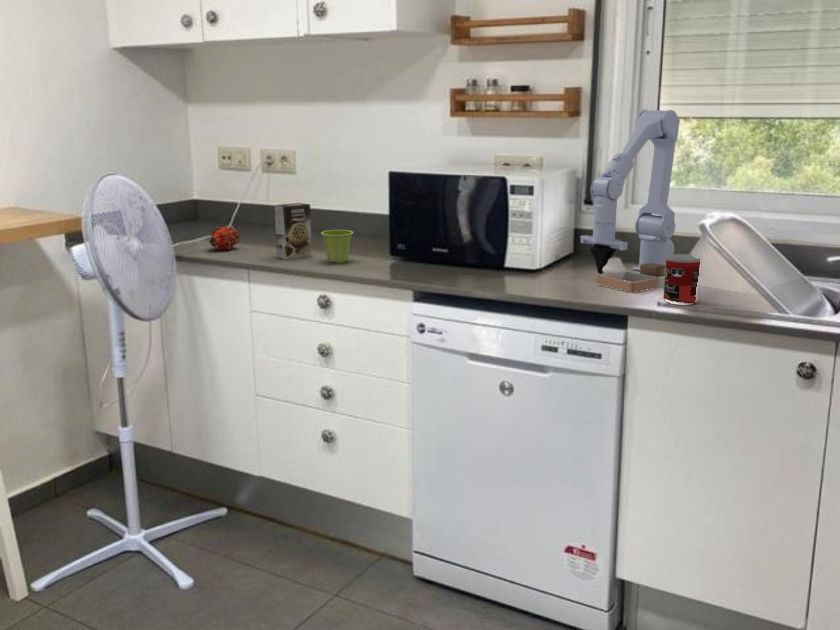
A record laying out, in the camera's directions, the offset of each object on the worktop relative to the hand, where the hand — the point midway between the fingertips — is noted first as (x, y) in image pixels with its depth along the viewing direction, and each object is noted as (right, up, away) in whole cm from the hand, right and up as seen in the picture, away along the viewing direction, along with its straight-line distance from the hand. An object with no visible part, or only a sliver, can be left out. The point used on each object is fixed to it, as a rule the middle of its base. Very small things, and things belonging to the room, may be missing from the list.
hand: (601, 273), depth 226 cm
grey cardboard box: (-87, +7, +34) cm, 94 cm away
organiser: (+9, -3, -3) cm, 10 cm away
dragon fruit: (-111, +9, +46) cm, 121 cm away
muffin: (+2, -3, -3) cm, 5 cm away
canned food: (+14, -8, -23) cm, 28 cm away
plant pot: (-73, +5, +27) cm, 78 cm away
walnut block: (+13, -2, -1) cm, 13 cm away
